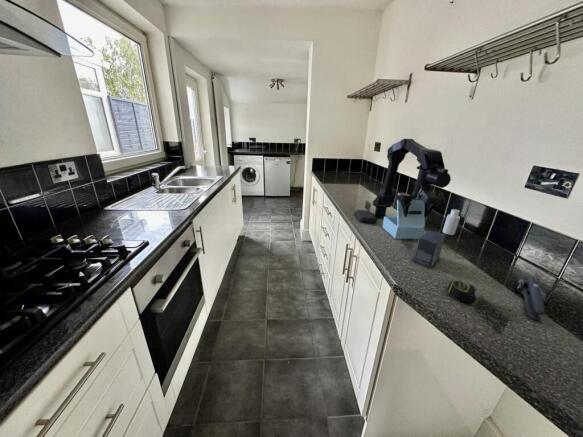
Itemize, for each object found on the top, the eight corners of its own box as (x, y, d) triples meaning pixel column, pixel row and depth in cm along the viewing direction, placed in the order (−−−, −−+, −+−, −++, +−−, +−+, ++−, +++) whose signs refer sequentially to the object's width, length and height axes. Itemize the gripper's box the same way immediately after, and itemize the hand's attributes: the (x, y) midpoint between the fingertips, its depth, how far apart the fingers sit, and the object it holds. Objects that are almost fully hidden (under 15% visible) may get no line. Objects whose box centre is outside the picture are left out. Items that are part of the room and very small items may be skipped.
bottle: (440, 230, 117) (447, 208, 113) (449, 230, 118) (456, 208, 113) (447, 235, 113) (454, 212, 108) (456, 235, 113) (464, 212, 109)
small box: (421, 252, 95) (428, 229, 91) (439, 258, 91) (446, 234, 87) (412, 261, 88) (418, 236, 84) (430, 268, 84) (438, 243, 80)
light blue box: (382, 226, 119) (384, 216, 117) (405, 227, 120) (407, 216, 118) (395, 238, 106) (397, 227, 104) (420, 238, 107) (424, 227, 105)
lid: (397, 195, 105) (402, 194, 101) (423, 196, 106) (429, 194, 102) (397, 226, 104) (402, 226, 100) (423, 226, 105) (430, 226, 101)
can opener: (512, 285, 77) (519, 270, 75) (542, 294, 73) (550, 280, 70) (515, 314, 64) (524, 298, 62) (551, 328, 60) (561, 311, 58)
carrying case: (379, 224, 122) (371, 214, 135) (380, 219, 121) (372, 209, 134) (359, 223, 122) (353, 213, 135) (360, 218, 121) (354, 209, 134)
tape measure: (472, 308, 66) (477, 297, 64) (445, 297, 70) (448, 287, 68) (473, 295, 71) (477, 285, 70) (447, 286, 75) (450, 276, 73)
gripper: (413, 185, 88) (404, 223, 93) (459, 187, 89) (448, 224, 95) (398, 179, 98) (391, 214, 104) (440, 180, 99) (430, 214, 105)
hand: (415, 216), depth 102 cm, fingers open, 9 cm apart
